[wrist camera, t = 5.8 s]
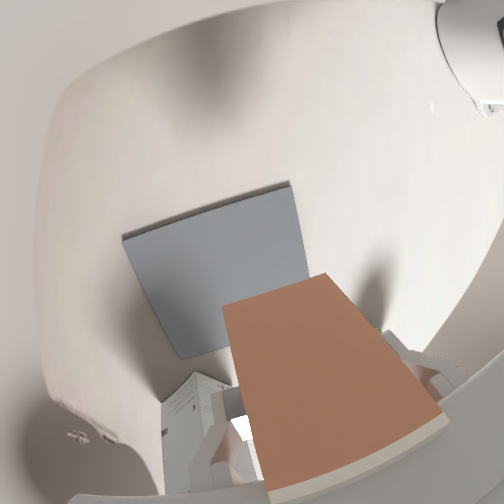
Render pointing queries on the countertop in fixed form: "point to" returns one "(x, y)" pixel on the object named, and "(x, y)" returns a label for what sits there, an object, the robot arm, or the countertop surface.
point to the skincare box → (192, 432)
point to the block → (323, 391)
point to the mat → (217, 265)
